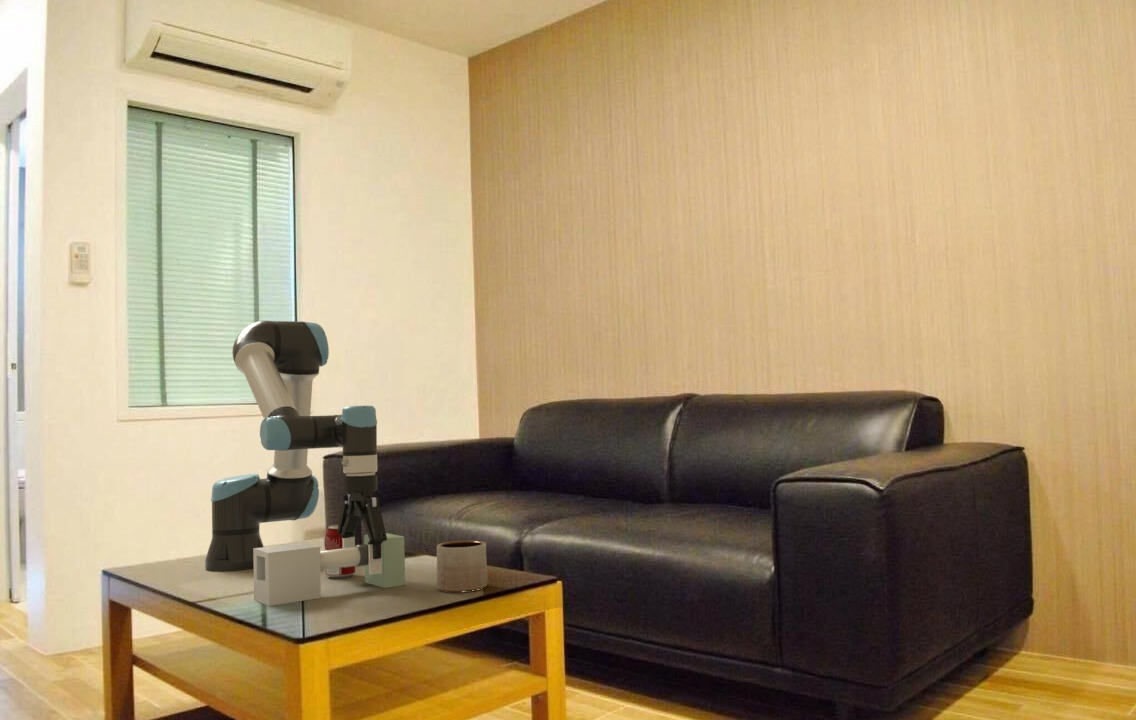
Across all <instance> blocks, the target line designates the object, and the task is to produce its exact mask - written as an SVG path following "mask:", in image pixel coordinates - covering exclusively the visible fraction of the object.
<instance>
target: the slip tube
mask: <svg viewBox="0 0 1136 720" xmlns="http://www.w3.org/2000/svg"><path fill="white" fill-rule="evenodd" d="M354 565H355V567H362V566H364V567H365V565H369V549H368V545H367V544H364V543H362V544H357V545H356V544H355V546H354V547H350V548H342V549H335V550H327V551H326V550H320V571H324V570H325V571H326V569H333V568H340V567H347V566H354Z"/></svg>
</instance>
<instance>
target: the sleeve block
mask: <svg viewBox="0 0 1136 720" xmlns="http://www.w3.org/2000/svg"><path fill="white" fill-rule="evenodd" d="M320 551H321V546H319V545H315V544H311V543H307V542H296V543H289V544H280V545H272V546H271V545H270V546H264V547H262V548H253V560H254V568H253V600H254V601H256V602H258V603H261V604H263V605H266V606H267V607H270V606H272V607H273V606H278V605H287V604H291V603H298V602H302V601H303V602H304V601H310V600H316V599H321V597H322V595H321V594H322V591H321V589H322V587H321V585H322V584H321V582H322V581H321V579H322V578H321V576H322V575H321V570H320Z"/></svg>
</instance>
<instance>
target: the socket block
mask: <svg viewBox="0 0 1136 720" xmlns="http://www.w3.org/2000/svg"><path fill="white" fill-rule="evenodd" d="M386 536H387V540H386V541H383V543H381V550H382V573H380V574H373V575H369V565H364V583H366V584H370V585H373V586H376V587H379V588H380V587H381V588H383V589H388V588H393V587H401V586H404V585H406V568H405V567H406V565H405V559H406V558H405V554H406V553H405V536H403V535H398V534H392V533H387V532H386ZM368 542H369V537H368V534H363V544H367V545H368Z"/></svg>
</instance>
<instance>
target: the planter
mask: <svg viewBox="0 0 1136 720" xmlns="http://www.w3.org/2000/svg"><path fill="white" fill-rule="evenodd" d="M487 566H488V565H487V542H485V541H480V540H454V541H447V542H441V543H438V544H437V545H436V586H437V589H438V590H439V591H440V592H443V591H447V592H446V593H449V592H462V591H472V590H477V589H481V588H483V589H485V588H486V586H488V567H487ZM484 587H485V588H484ZM481 590H482V589H481Z"/></svg>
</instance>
